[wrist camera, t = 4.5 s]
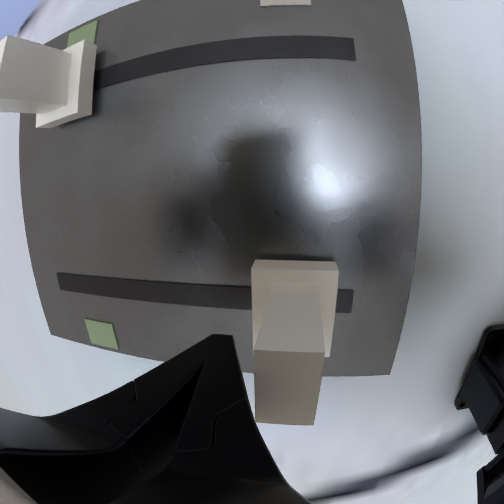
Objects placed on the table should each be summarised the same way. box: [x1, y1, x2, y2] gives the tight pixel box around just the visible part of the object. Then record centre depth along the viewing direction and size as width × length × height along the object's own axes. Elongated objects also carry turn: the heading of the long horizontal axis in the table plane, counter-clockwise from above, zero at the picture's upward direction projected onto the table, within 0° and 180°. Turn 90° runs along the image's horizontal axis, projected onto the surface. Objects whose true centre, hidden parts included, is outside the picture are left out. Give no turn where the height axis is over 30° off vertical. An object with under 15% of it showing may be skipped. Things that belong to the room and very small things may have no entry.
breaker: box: [0, 35, 97, 128], centre depth 8 cm, size 3×4×5 cm
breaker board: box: [19, 0, 422, 376], centre depth 12 cm, size 20×18×2 cm
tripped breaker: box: [251, 259, 339, 425], centre depth 9 cm, size 3×4×5 cm
